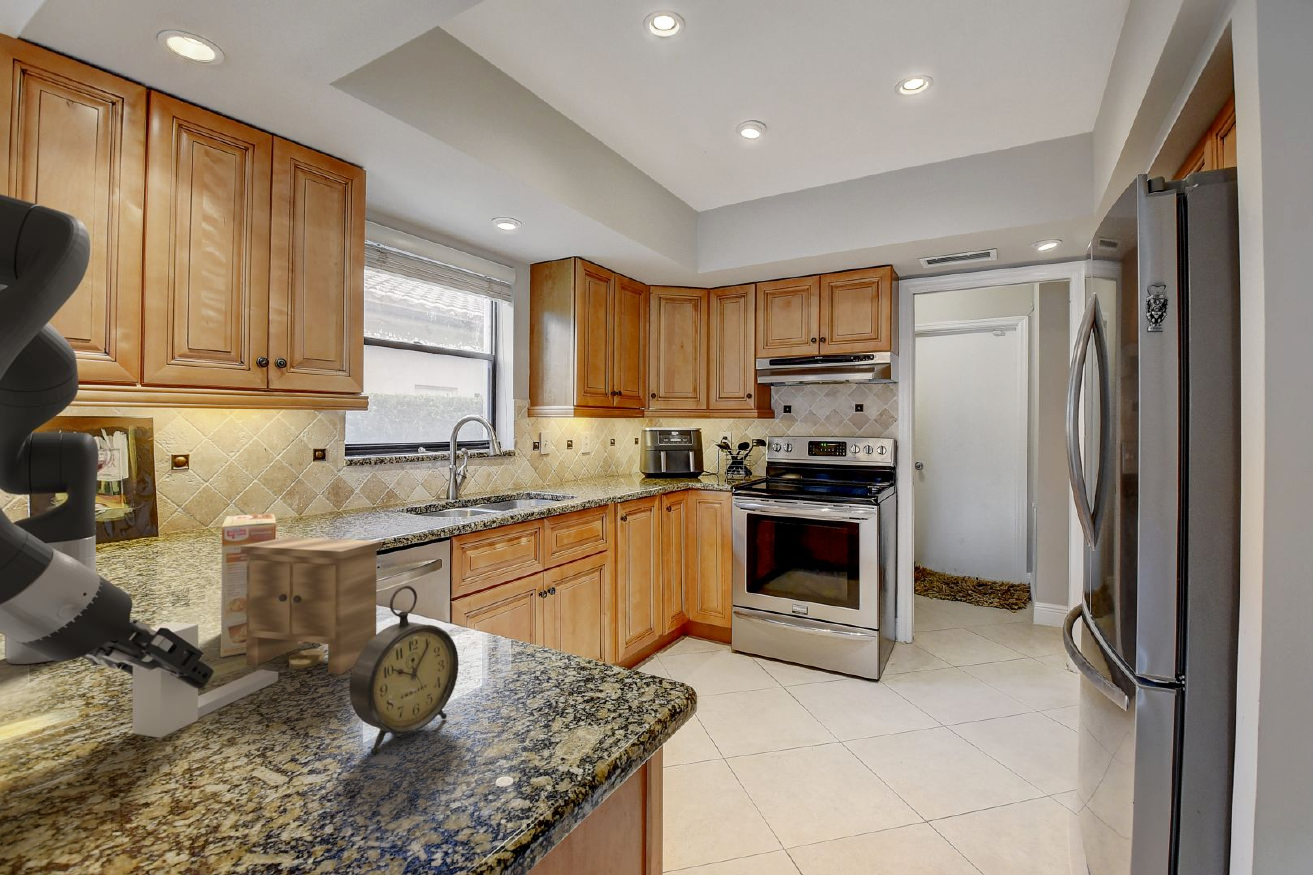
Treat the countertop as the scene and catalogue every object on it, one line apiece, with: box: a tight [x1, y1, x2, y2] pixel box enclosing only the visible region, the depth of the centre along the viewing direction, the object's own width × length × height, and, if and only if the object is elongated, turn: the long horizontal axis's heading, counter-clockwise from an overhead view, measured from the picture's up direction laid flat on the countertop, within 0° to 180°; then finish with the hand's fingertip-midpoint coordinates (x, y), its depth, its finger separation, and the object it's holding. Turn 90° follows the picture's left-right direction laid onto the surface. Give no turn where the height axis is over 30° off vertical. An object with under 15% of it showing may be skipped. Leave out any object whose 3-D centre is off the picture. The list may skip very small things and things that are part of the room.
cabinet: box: [241, 536, 383, 675], centre depth 84 cm, size 17×8×17 cm, turn 76°
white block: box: [132, 621, 279, 739], centre depth 70 cm, size 4×15×11 cm, turn 167°
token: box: [288, 648, 325, 670], centre depth 83 cm, size 4×4×1 cm
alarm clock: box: [349, 585, 460, 755], centre depth 63 cm, size 11×5×16 cm, turn 148°
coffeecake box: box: [219, 513, 277, 658], centre depth 93 cm, size 15×7×20 cm, turn 34°
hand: (180, 676), depth 66 cm, fingers open, 7 cm apart
